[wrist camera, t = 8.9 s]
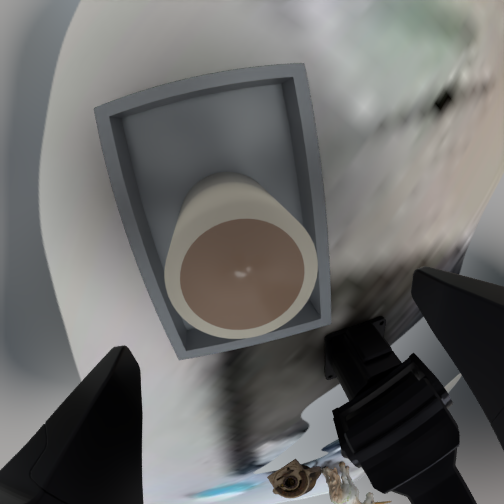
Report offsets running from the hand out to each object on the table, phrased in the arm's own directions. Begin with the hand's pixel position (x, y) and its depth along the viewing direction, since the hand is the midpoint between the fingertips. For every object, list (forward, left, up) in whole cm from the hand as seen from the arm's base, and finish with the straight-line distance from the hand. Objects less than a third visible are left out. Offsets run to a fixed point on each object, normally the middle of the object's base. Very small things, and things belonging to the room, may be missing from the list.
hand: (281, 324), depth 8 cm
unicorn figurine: (-56, -12, -12) cm, 59 cm away
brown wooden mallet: (-48, -1, -12) cm, 50 cm away
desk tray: (0, +1, -12) cm, 12 cm away
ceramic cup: (0, +1, -11) cm, 11 cm away
